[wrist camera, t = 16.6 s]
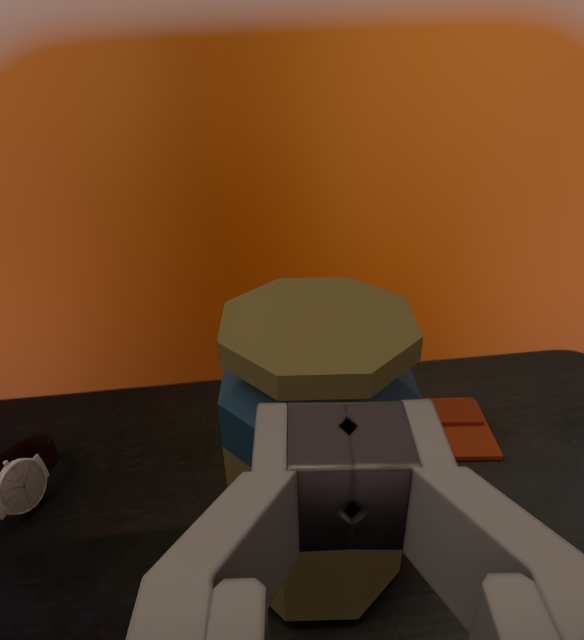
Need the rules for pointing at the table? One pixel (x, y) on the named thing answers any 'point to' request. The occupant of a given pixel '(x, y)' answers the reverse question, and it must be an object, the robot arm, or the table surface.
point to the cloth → (466, 429)
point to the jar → (316, 386)
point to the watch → (25, 473)
